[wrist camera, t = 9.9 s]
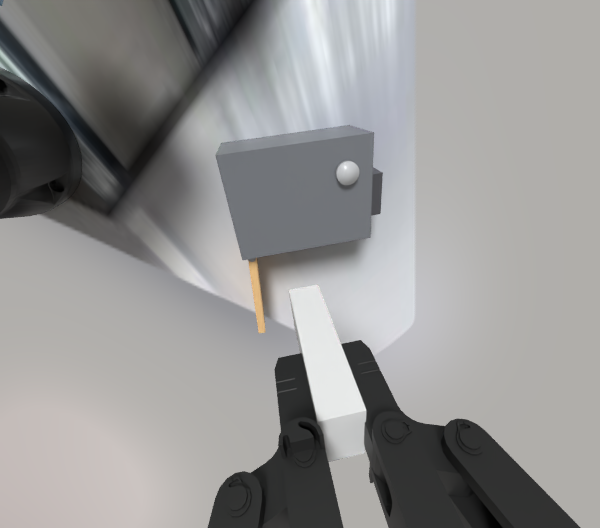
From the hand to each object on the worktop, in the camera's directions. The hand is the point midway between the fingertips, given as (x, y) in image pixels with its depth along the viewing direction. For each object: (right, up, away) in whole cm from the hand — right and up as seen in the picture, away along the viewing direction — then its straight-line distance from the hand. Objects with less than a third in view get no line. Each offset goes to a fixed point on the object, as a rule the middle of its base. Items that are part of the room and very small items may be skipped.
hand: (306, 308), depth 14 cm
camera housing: (-1, +13, +23) cm, 27 cm away
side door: (-7, +1, +29) cm, 30 cm away
